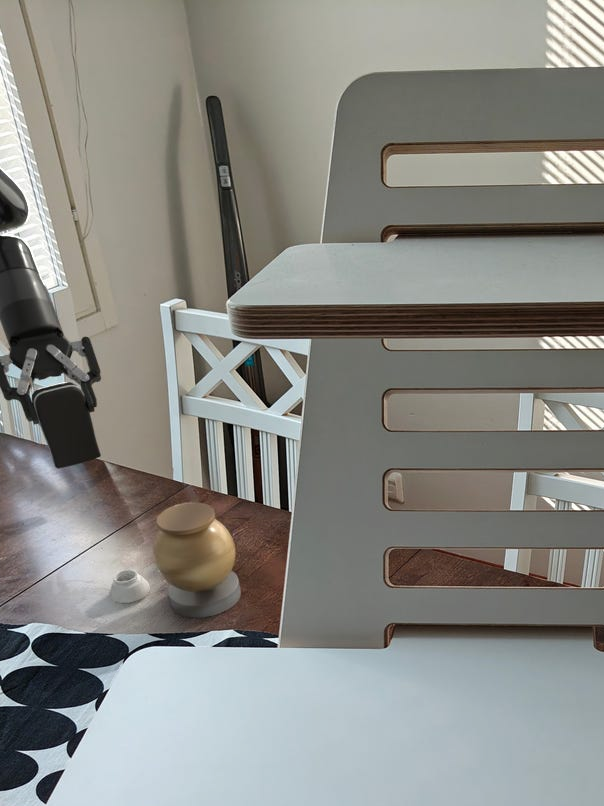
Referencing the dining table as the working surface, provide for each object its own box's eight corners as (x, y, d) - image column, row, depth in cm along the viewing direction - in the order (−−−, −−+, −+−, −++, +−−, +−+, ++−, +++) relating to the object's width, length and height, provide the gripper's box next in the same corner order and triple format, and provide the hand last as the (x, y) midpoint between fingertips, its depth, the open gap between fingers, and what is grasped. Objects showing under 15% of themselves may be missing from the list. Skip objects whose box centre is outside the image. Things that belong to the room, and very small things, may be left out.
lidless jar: (108, 590, 130) (115, 609, 127) (102, 572, 128) (109, 590, 125) (145, 579, 132) (154, 598, 128) (140, 561, 130) (148, 579, 127)
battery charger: (96, 448, 147) (74, 376, 140) (103, 457, 145) (82, 384, 138) (48, 461, 144) (24, 388, 137) (55, 471, 142) (31, 397, 135)
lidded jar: (163, 624, 124) (139, 541, 116) (171, 581, 131) (148, 500, 124) (243, 615, 125) (224, 532, 117) (246, 572, 132) (228, 492, 125)
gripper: (-32, 306, 134) (7, 417, 133) (75, 287, 139) (115, 393, 138) (-24, 333, 141) (14, 438, 140) (79, 314, 146) (116, 415, 145)
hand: (64, 415), depth 139 cm, fingers closed on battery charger, 7 cm apart
